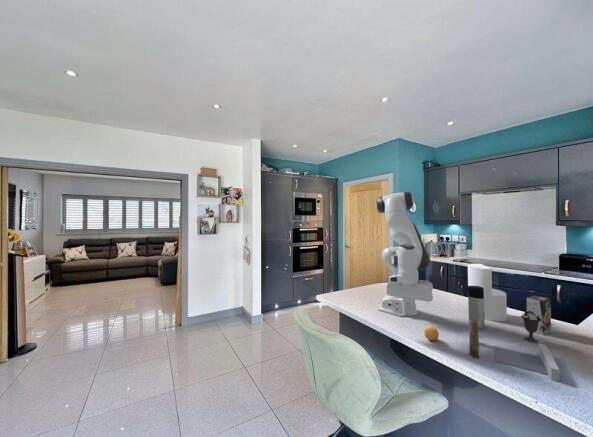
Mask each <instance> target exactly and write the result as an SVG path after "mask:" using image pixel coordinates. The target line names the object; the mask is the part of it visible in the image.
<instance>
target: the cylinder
mask: <svg viewBox="0 0 593 437" xmlns="http://www.w3.org/2000/svg"><path fill="white" fill-rule="evenodd" d="M492 271H493V270H492V269H491V267H488V266H487V265H485V264H483V263H468V264H467V287H468V286H480V287H482V288H484V321H490V322H505V321H507V319H508V317H507V316H508V315H507V314H508V312H507V310H508V309H507V292H505V291H503V290H501V289H496V288H493V281H492V280H493V279H492V278H493V277H492V276H493V274H492Z"/></svg>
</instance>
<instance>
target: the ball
mask: <svg viewBox="0 0 593 437" xmlns="http://www.w3.org/2000/svg"><path fill="white" fill-rule="evenodd" d="M423 334H424V336H425V338H426V339H427V340H429V341H434V342H435V341H436V340H438V339H439V336H440V333H439V331H438V329H437V328H436V327H434V326H432V325H431V326H430V325H429V326H426V327H425V328H424V329H423Z"/></svg>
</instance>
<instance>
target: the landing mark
mask: <svg viewBox="0 0 593 437" xmlns="http://www.w3.org/2000/svg"><path fill="white" fill-rule="evenodd" d="M493 347H494V348H493V349H494V354H495V360H496V363H500V364H503V365H508V366H512V367H514V368H518V369H523V370H527V371H531V372H535V373H539V374H543V375H548V371H547V369H546V367H545V365H544V363H543V361H542V359H541V357H540V355H536V354H532V353H526V352H522V351H518V350H512V349H510V348H509V349H508V348H504V347H501V346H500V347H499V346H496V345H494V346H493Z"/></svg>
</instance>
